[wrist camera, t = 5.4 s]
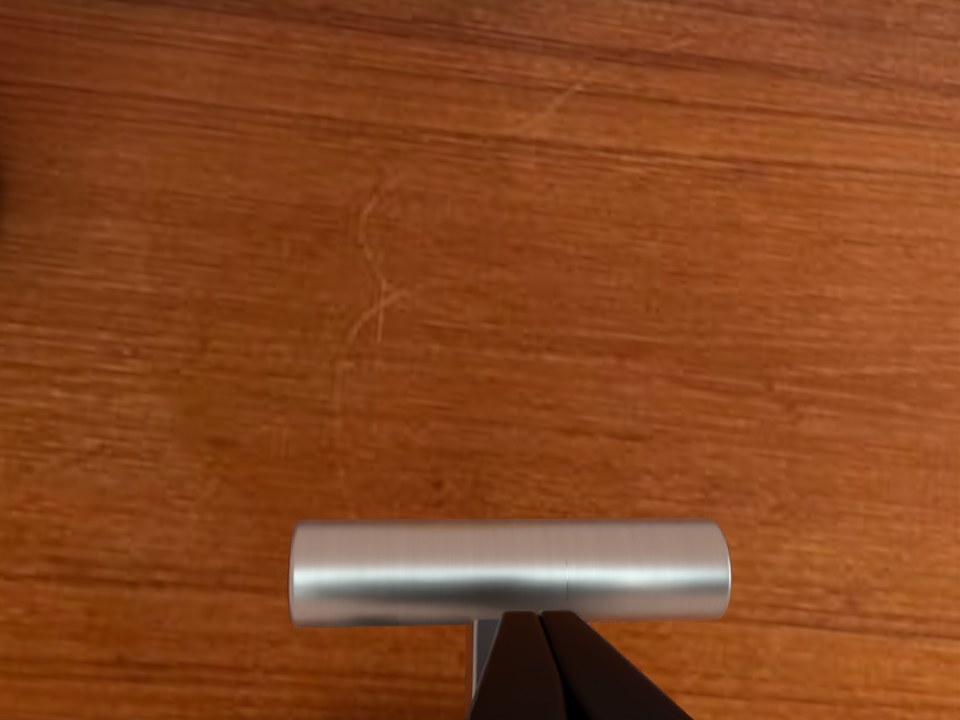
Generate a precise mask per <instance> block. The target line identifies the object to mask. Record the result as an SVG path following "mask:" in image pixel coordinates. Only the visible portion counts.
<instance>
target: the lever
mask: <svg viewBox="0 0 960 720" xmlns="http://www.w3.org/2000/svg"><path fill="white" fill-rule="evenodd" d="M731 586H732V569H731V560H730V554H729V549H728V545H727V542H726V538H725V536H724V533H723V531H722V529H721V528H720V526H719V525H718V523H716V522H715V521H714V520H711V519H709V518H508V519H302V520H299V521H297V522H296V523H295V525H294V528H293V530H292V535H291V541H290V549H289V561H288V613H289V618H290V621H291V624H292V625H293V626H296V627H352V626H410V625H466V674H465V720H466V717H467V714H468V711H469V709H470V706H471V703H472V700H473V697H474V694H475V691H476V688H477V685H478V682H479V679H480V676H481V673H482V670H483V667H484V664H485V661H486V658H487V655H488V652H489V649H490V646H491V643H492V640H493V637H494V634H495V631H496V628H497V625H498V622H499V620H500V617H501V614H502V613H503V612H504V611H506V610H533V611H535V612H537V614H538V613H539V612H540V611H542V610H552V609H570V610H572V611H574V612H576V613H577V614H578V615H579V616H580V617H581V618H582V619H584V620H585V621H586V622H642V621H700V620H716V619H718V618H720V617H722V616H723V615H724V613H725V612H726V610H727V607H728V604H729V601H730V596H731Z"/></svg>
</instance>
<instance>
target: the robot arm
mask: <svg viewBox="0 0 960 720" xmlns="http://www.w3.org/2000/svg"><path fill="white" fill-rule="evenodd" d="M466 720H694V719H692V718H691V717H690V716H689V715H688V714H687V713H686V712H685V711H684V710H683V709H681V708H680V707H679V706H678V705H677V704H676V703H675V702H674V701H673V700H672V699H670V698H669V697H668V696H667V695H666V694H665V693H664V692H663V691H662V690H661V689H659V688H658V687H657V686H656V685H655V684H654V683H653V682H652V681H651V680H650V679H648V678H647V677H646V676H645V675H644V674H643V673H642V672H641V671H640V670H639V669H637V668H636V667H635V666H634V665H633V664H632V663H631V662H630V661H629V660H628V659H626V658H625V657H624V656H623V655H622V654H621V653H620V652H619V651H618V650H617V649H615V648H614V647H613V646H612V645H611V644H610V643H609V642H608V641H607V640H606V639H604V638H603V637H602V636H601V635H600V634H599V633H598V632H597V631H596V630H595V629H593V628H592V627H591V626H590V625H589V624H588V623H587V622H586V621H585V620H584V619H582V618H581V617H580V616H579V615H578V614H577V613H576V612H574V611H572V610H570V609H552V610H542V611H540V612H539V613H538V614H537V612H535V611H533V610H506V611H504V612H503V613H502V614H501V617H500V620H499V622H498V625H497V628H496V631H495V634H494V637H493V640H492V643H491V646H490V649H489V652H488V655H487V658H486V661H485V664H484V667H483V670H482V673H481V676H480V679H479V682H478V685H477V688H476V691H475V694H474V697H473V700H472V703H471V706H470V709H469V711H468V714H467V717H466Z"/></svg>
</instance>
